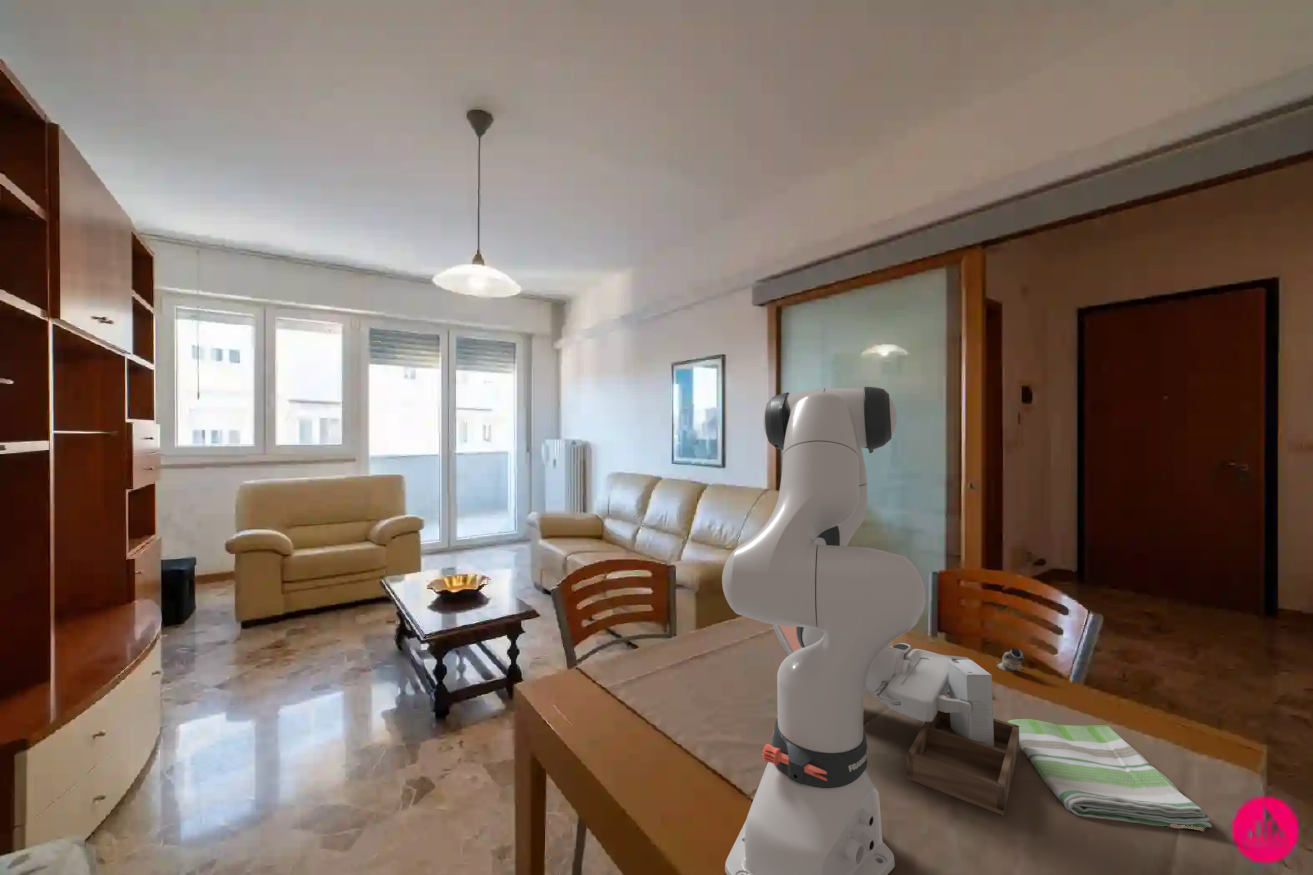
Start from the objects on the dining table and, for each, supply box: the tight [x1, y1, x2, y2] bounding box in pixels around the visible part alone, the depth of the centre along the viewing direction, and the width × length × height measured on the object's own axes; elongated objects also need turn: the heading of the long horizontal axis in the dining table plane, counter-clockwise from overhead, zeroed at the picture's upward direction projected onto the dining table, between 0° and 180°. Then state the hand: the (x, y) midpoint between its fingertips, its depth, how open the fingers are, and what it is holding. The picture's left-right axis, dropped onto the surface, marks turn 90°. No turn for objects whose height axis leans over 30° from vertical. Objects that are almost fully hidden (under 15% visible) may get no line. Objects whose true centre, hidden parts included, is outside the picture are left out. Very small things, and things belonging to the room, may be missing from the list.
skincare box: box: [948, 659, 994, 747], centre depth 89 cm, size 6×4×12 cm
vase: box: [995, 648, 1025, 672], centre depth 116 cm, size 5×5×6 cm
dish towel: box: [1006, 718, 1213, 829], centre depth 84 cm, size 17×23×4 cm
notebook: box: [770, 624, 801, 657], centre depth 136 cm, size 27×17×2 cm, turn 178°
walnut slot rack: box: [906, 711, 1020, 816], centre depth 86 cm, size 19×13×4 cm, turn 140°
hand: (976, 697), depth 89 cm, fingers closed on skincare box, 7 cm apart
